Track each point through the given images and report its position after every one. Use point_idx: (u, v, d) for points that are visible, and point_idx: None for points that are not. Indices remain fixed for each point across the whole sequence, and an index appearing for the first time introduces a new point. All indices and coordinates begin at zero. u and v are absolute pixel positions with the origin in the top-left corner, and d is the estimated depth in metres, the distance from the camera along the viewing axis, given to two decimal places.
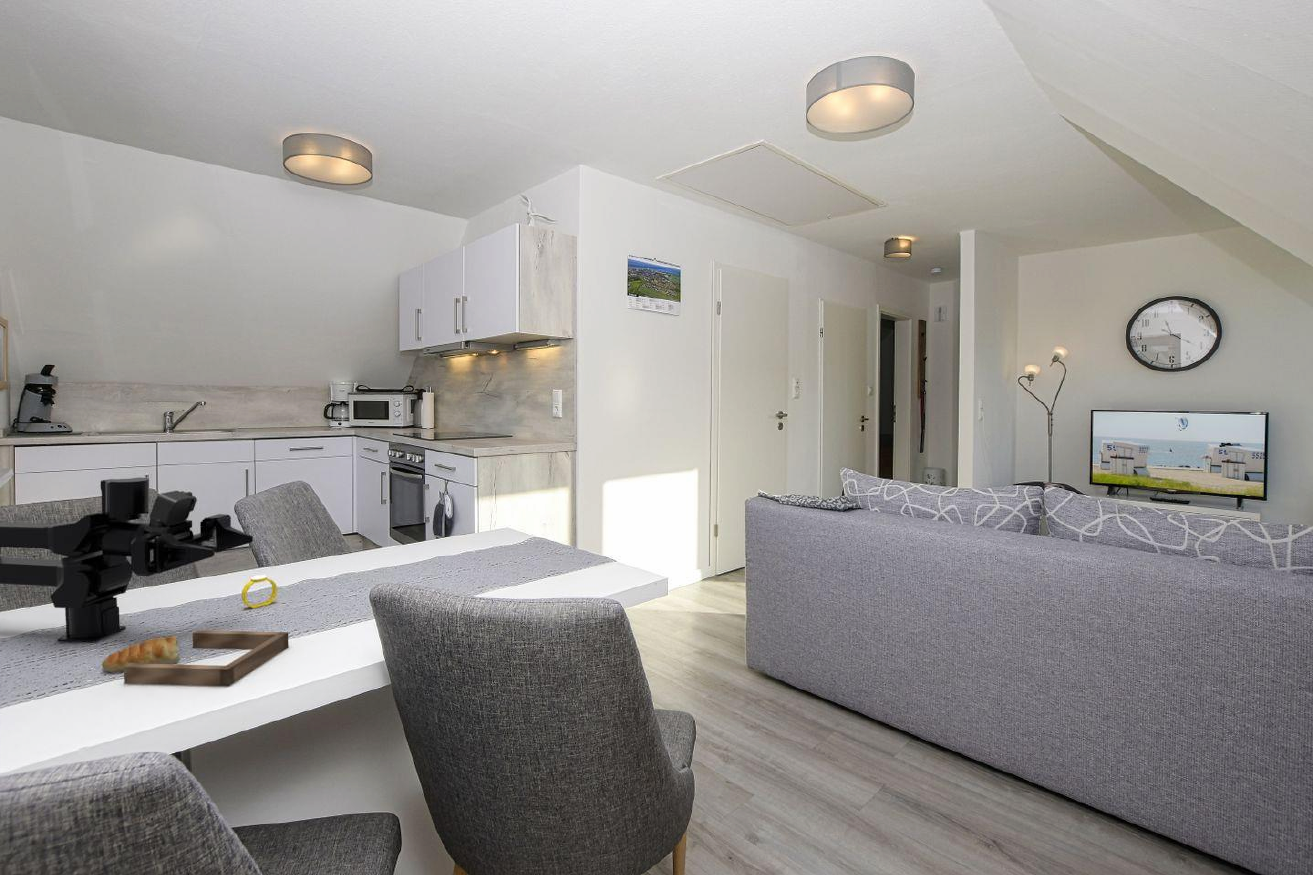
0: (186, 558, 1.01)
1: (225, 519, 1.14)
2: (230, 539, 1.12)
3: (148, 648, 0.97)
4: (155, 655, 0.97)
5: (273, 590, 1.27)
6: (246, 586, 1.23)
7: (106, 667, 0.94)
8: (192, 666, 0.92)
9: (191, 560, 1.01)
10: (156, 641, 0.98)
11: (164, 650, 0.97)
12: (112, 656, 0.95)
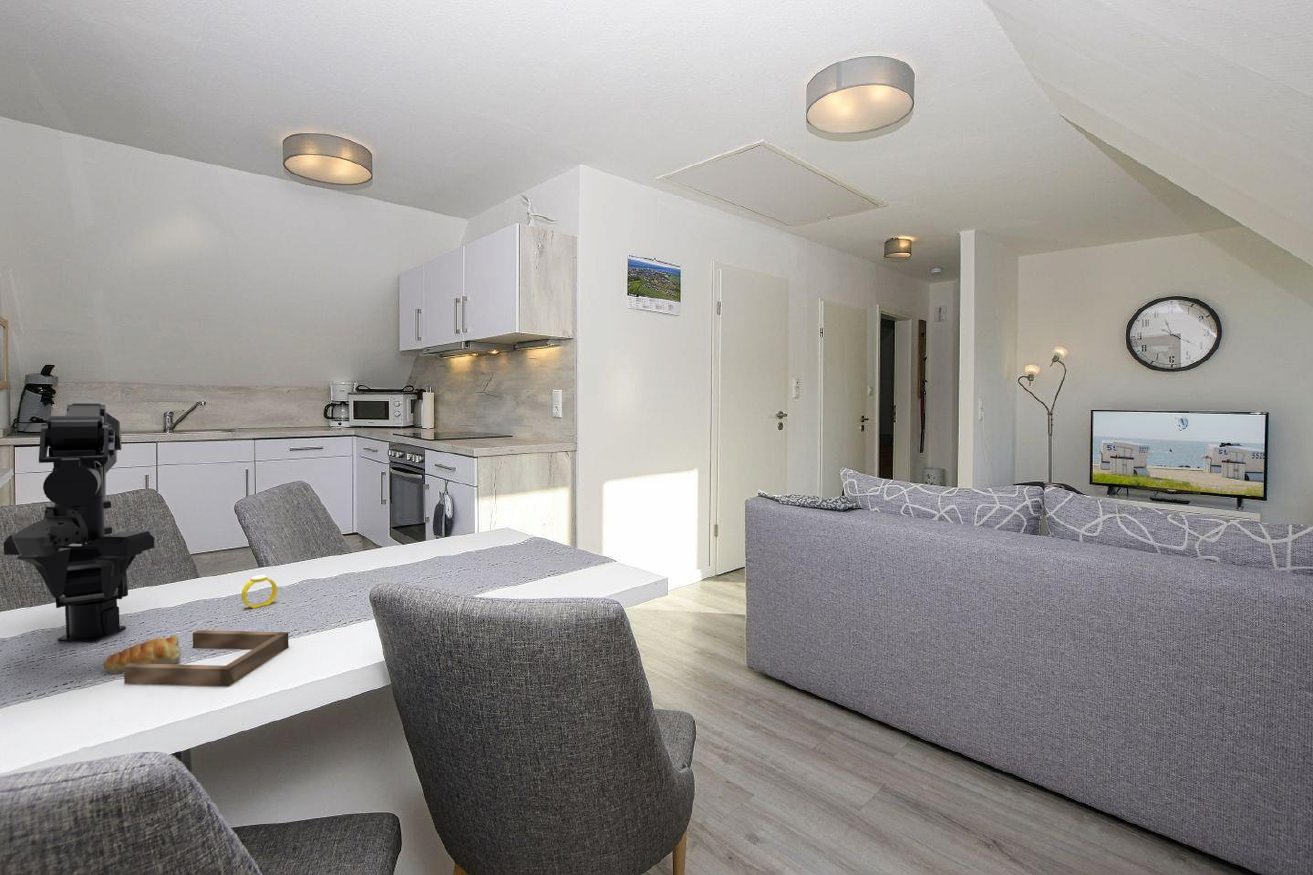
0: None
1: (105, 561, 0.95)
2: None
3: (149, 649, 0.96)
4: (156, 656, 0.96)
5: (273, 590, 1.27)
6: (246, 586, 1.23)
7: (107, 667, 0.94)
8: (192, 666, 0.92)
9: None
10: (157, 641, 0.98)
11: (165, 651, 0.97)
12: (113, 657, 0.95)
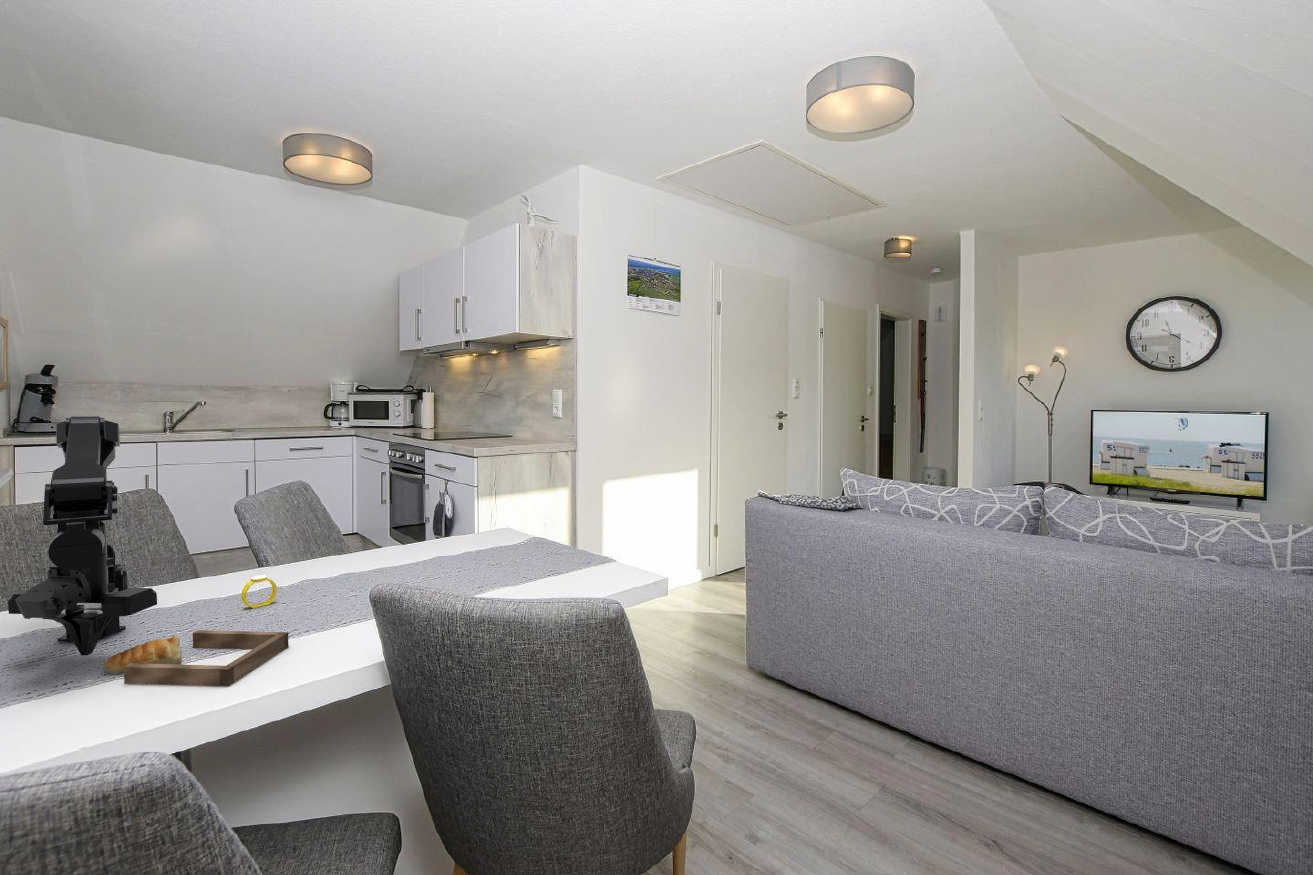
0: None
1: (84, 620, 0.95)
2: None
3: (151, 649, 0.96)
4: (158, 656, 0.96)
5: (273, 590, 1.27)
6: (246, 586, 1.23)
7: (108, 668, 0.94)
8: (192, 666, 0.92)
9: None
10: (158, 642, 0.98)
11: (166, 651, 0.97)
12: (114, 658, 0.95)
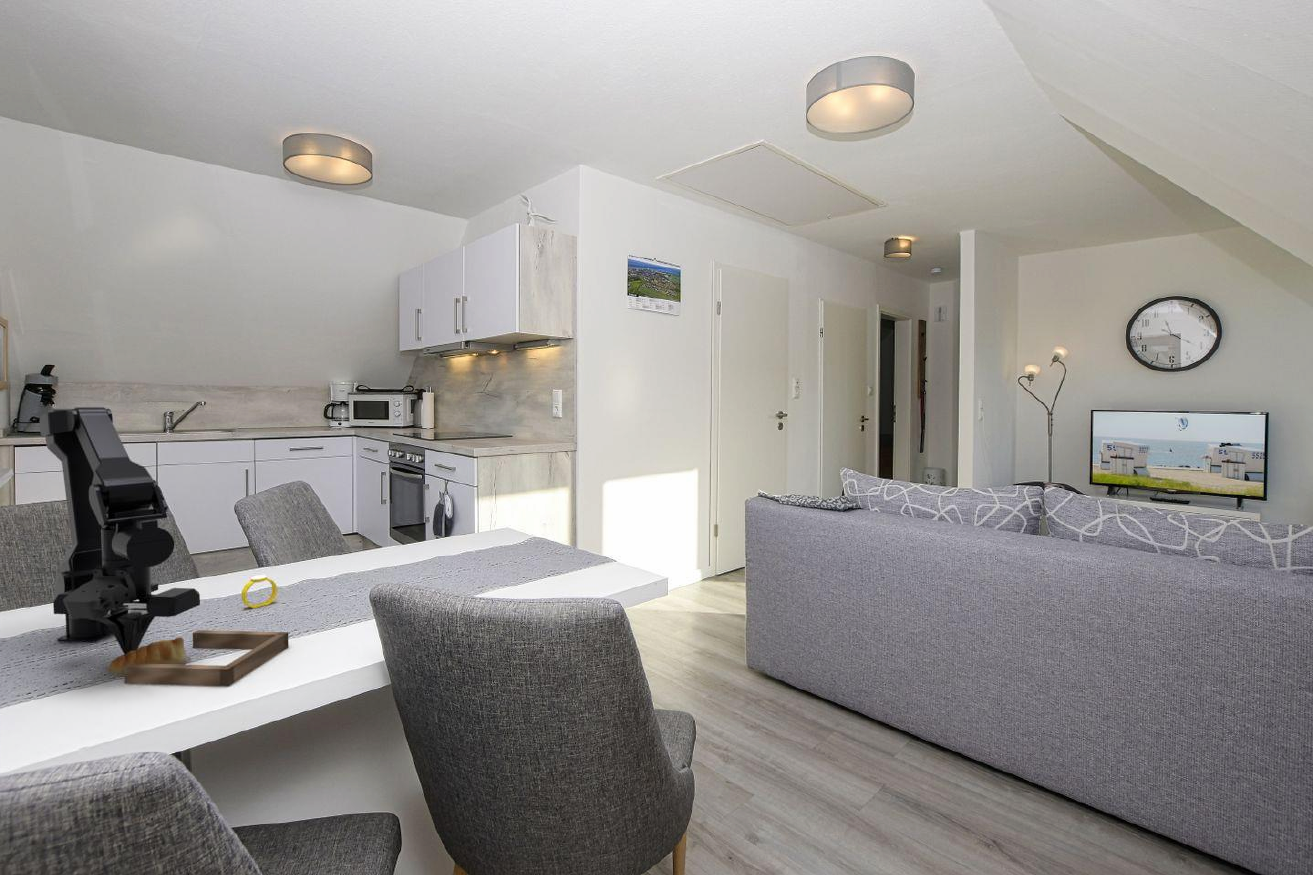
0: None
1: (128, 620, 0.95)
2: None
3: (156, 651, 0.96)
4: (163, 658, 0.96)
5: (273, 590, 1.27)
6: (246, 586, 1.23)
7: (113, 670, 0.93)
8: (192, 666, 0.92)
9: None
10: (163, 643, 0.98)
11: (171, 652, 0.97)
12: (119, 659, 0.94)
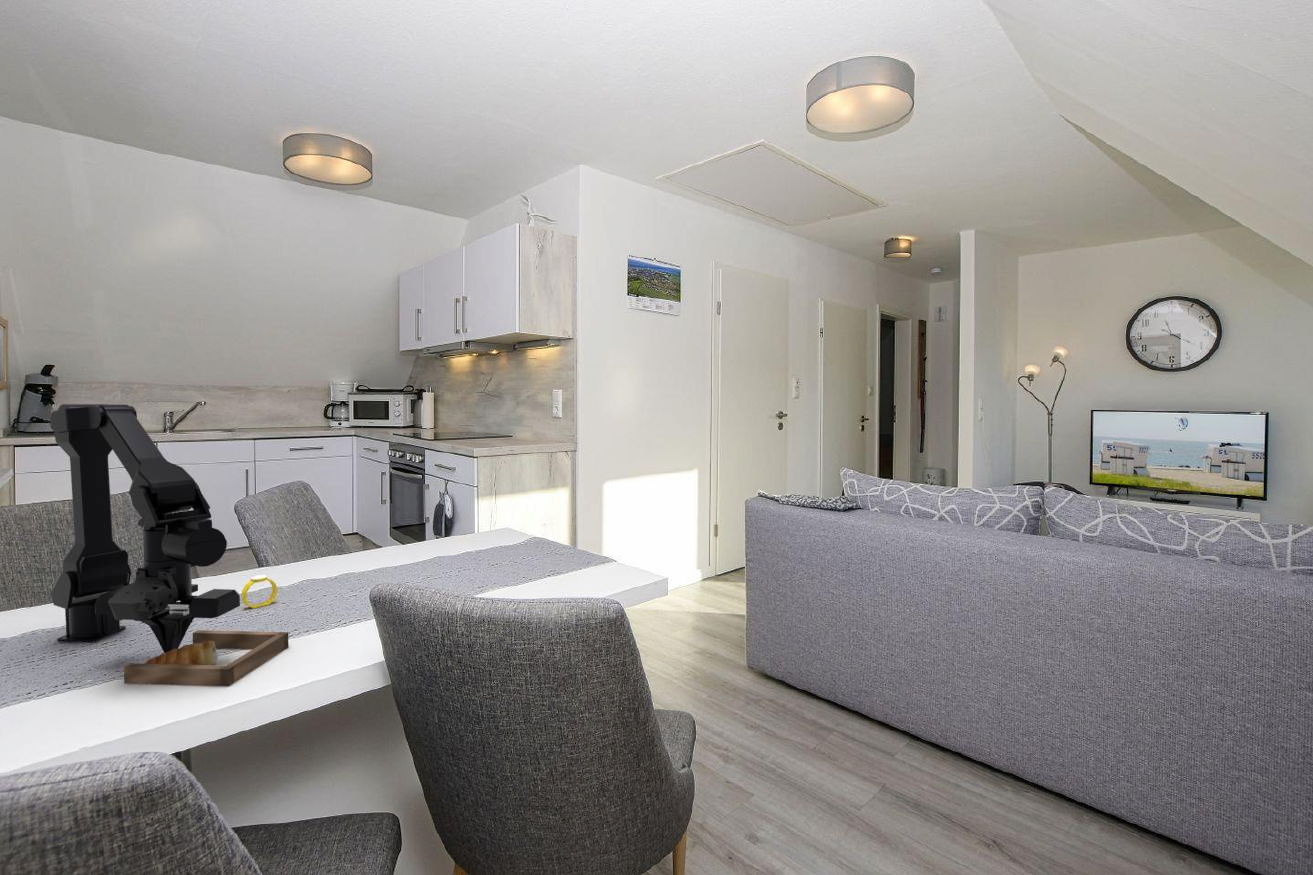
0: None
1: (170, 621, 0.95)
2: None
3: (185, 655, 0.94)
4: (191, 662, 0.94)
5: (273, 590, 1.27)
6: (246, 586, 1.23)
7: None
8: (192, 666, 0.92)
9: None
10: (193, 647, 0.96)
11: (200, 657, 0.95)
12: (149, 661, 0.93)
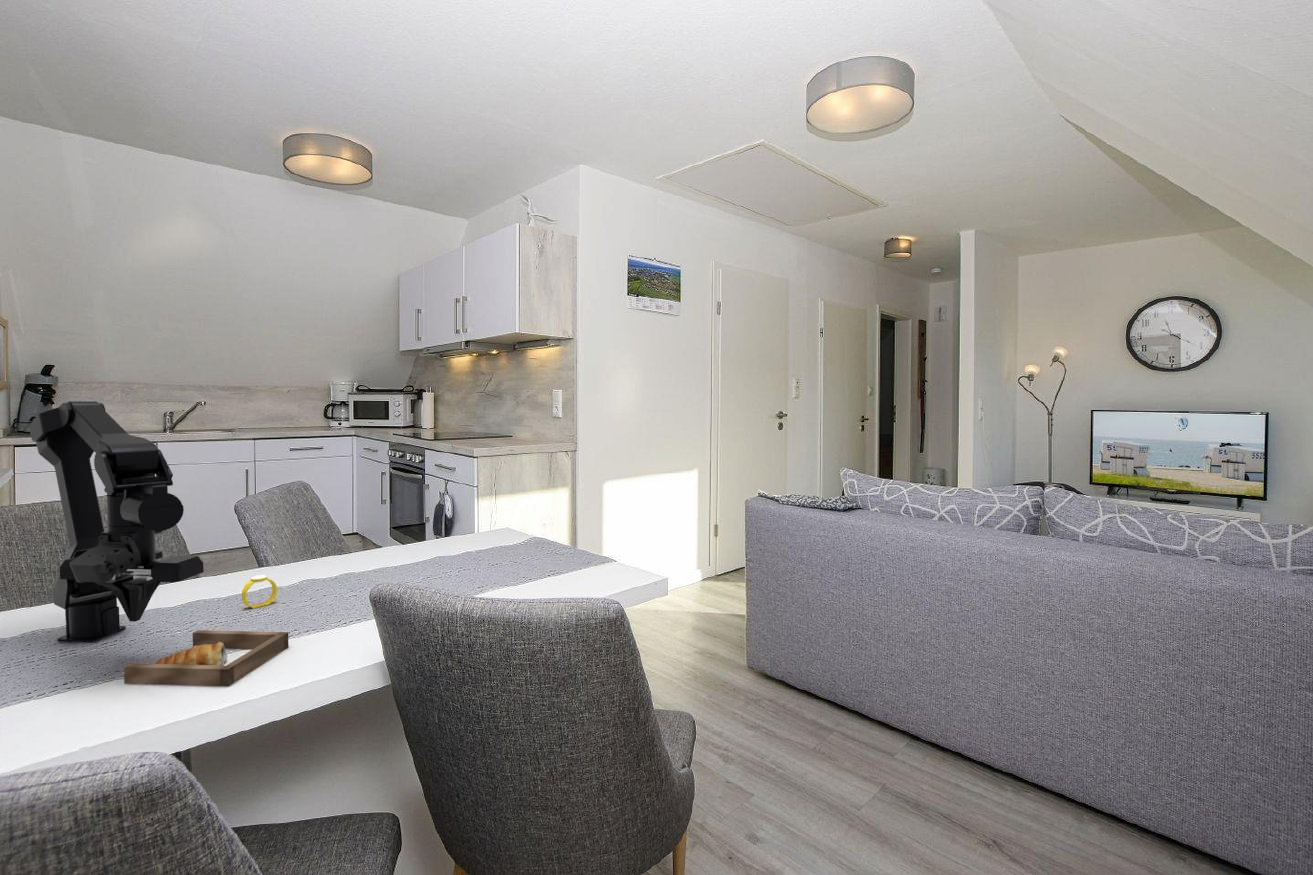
0: None
1: (133, 586, 0.97)
2: None
3: (192, 656, 0.94)
4: (198, 663, 0.94)
5: (273, 590, 1.27)
6: (246, 586, 1.23)
7: None
8: (192, 666, 0.92)
9: None
10: (201, 648, 0.96)
11: (207, 658, 0.95)
12: (158, 662, 0.93)
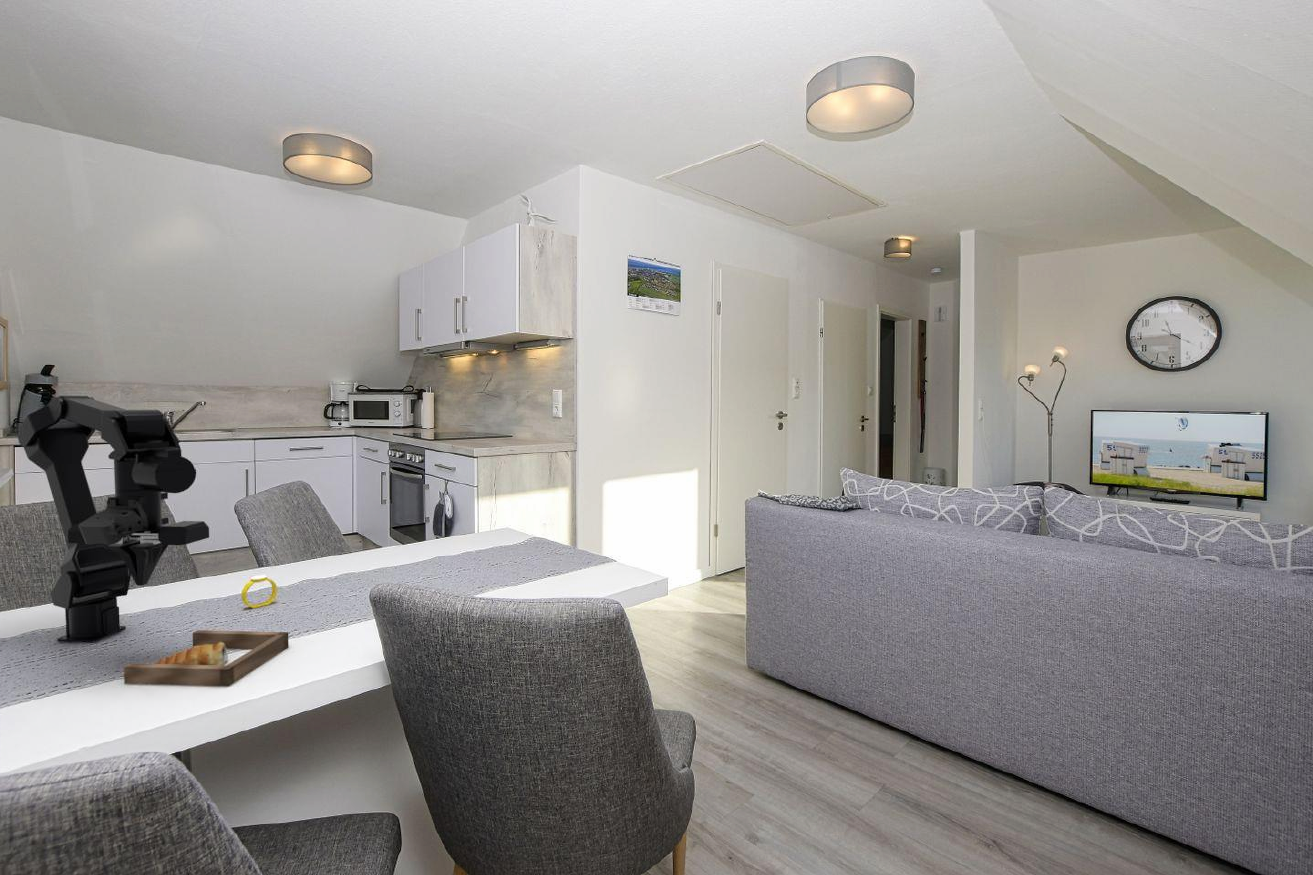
0: None
1: (141, 549, 0.99)
2: None
3: (193, 656, 0.94)
4: (199, 663, 0.94)
5: (273, 590, 1.27)
6: (246, 586, 1.23)
7: None
8: (192, 666, 0.92)
9: None
10: (202, 648, 0.96)
11: (208, 658, 0.95)
12: (159, 662, 0.93)
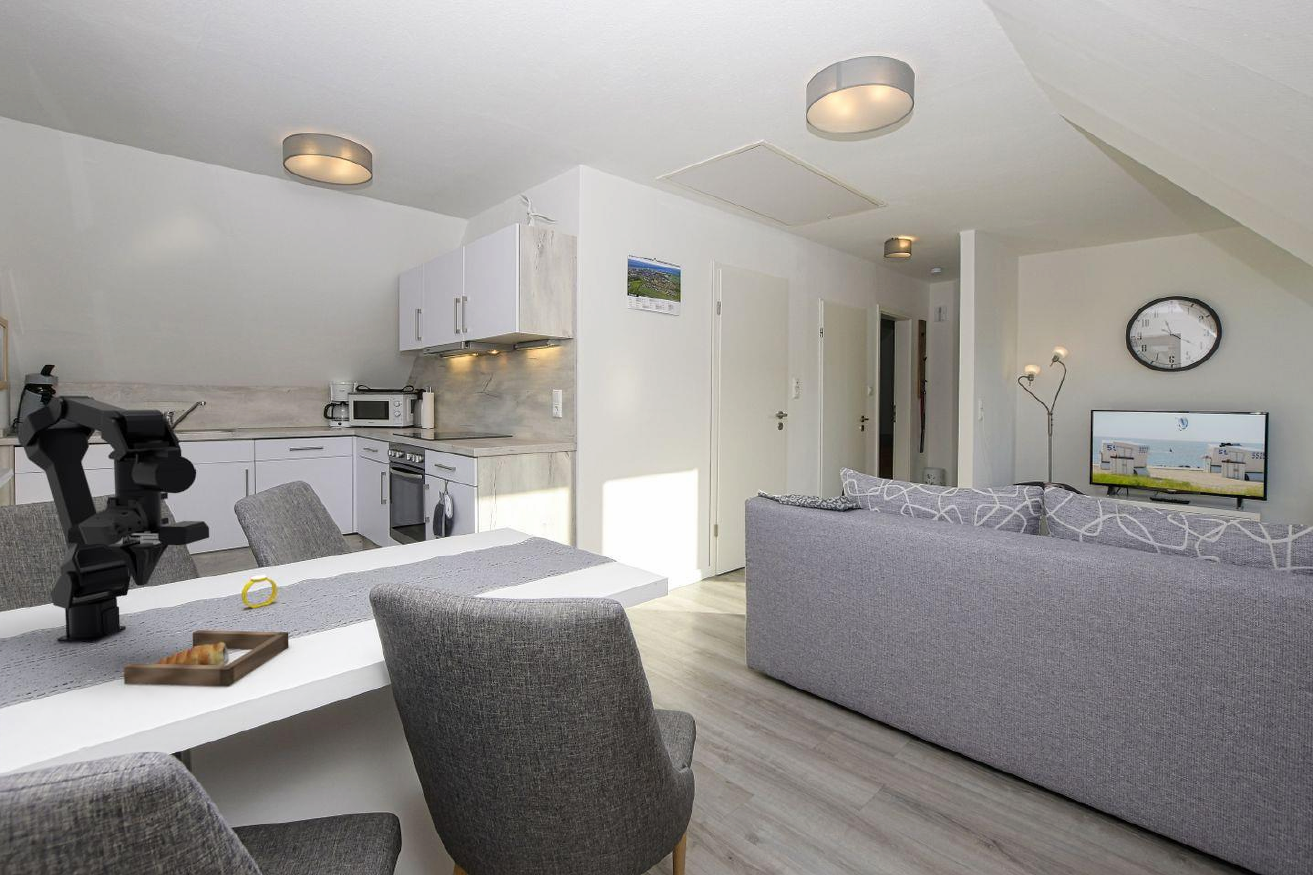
0: None
1: (141, 549, 0.99)
2: None
3: (194, 656, 0.94)
4: (200, 663, 0.94)
5: (273, 590, 1.27)
6: (246, 586, 1.23)
7: None
8: (192, 666, 0.92)
9: None
10: (203, 648, 0.96)
11: (209, 658, 0.95)
12: (160, 662, 0.93)
